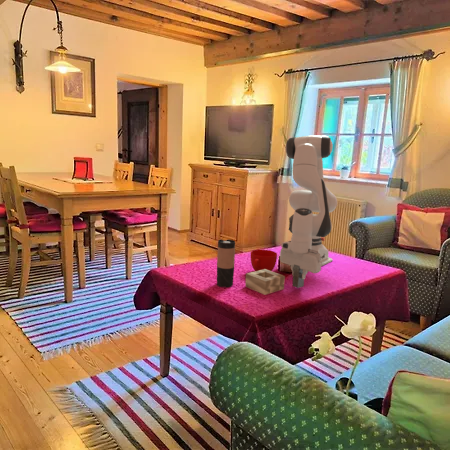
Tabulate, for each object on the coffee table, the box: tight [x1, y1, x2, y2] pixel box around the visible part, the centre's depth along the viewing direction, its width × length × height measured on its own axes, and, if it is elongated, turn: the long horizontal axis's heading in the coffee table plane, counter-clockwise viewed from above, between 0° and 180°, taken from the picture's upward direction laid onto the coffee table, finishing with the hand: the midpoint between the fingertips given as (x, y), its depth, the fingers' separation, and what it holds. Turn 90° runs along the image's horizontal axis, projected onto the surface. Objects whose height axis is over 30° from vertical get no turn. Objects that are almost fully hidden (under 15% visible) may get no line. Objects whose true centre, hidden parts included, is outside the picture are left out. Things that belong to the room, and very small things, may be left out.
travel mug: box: [216, 238, 236, 288], centre depth 177 cm, size 8×8×20 cm
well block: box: [245, 269, 286, 296], centre depth 177 cm, size 12×12×6 cm
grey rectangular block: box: [291, 264, 305, 289], centre depth 175 cm, size 4×3×10 cm
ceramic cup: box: [250, 249, 278, 272], centre depth 196 cm, size 13×17×10 cm
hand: (298, 277), depth 175 cm, fingers closed on grey rectangular block, 3 cm apart
